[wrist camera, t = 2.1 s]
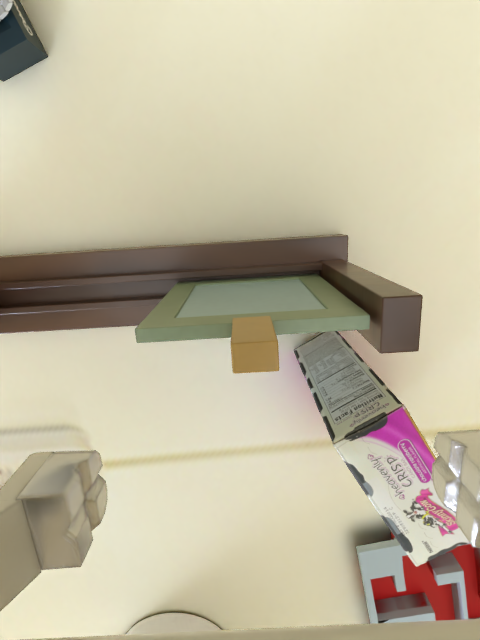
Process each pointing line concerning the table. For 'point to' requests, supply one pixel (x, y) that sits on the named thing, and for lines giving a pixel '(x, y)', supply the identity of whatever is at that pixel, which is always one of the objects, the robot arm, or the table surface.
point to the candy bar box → (379, 446)
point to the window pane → (251, 315)
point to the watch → (17, 40)
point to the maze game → (419, 584)
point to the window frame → (190, 265)
